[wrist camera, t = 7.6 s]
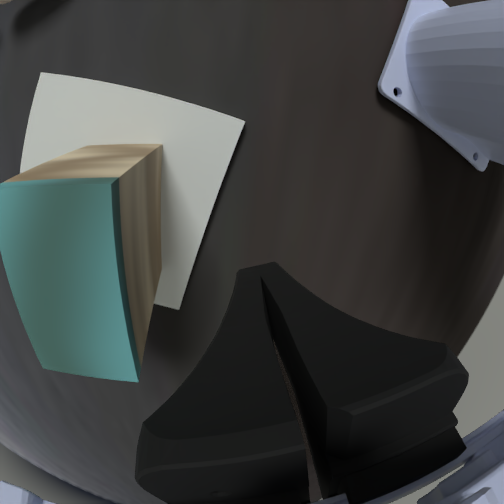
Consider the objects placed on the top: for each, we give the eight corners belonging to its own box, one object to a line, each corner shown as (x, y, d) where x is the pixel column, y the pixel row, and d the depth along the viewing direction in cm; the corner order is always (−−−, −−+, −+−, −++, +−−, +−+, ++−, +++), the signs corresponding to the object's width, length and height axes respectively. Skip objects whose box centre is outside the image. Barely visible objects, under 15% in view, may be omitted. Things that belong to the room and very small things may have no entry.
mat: (244, 121, 12) (245, 121, 12) (179, 305, 16) (179, 309, 16) (45, 73, 9) (41, 72, 9) (19, 256, 13) (16, 259, 13)
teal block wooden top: (162, 143, 12) (111, 184, 5) (161, 268, 14) (138, 382, 8) (87, 145, 11) (-11, 189, 5) (96, 265, 14) (43, 368, 8)
